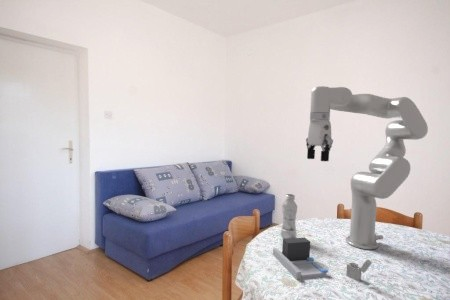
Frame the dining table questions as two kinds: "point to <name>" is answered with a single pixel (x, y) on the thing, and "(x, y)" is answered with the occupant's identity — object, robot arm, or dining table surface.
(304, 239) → the dark gray block
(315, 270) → the grey tray
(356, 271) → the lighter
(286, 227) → the plastic bottle
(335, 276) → the dining table surface
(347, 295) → the dining table surface
